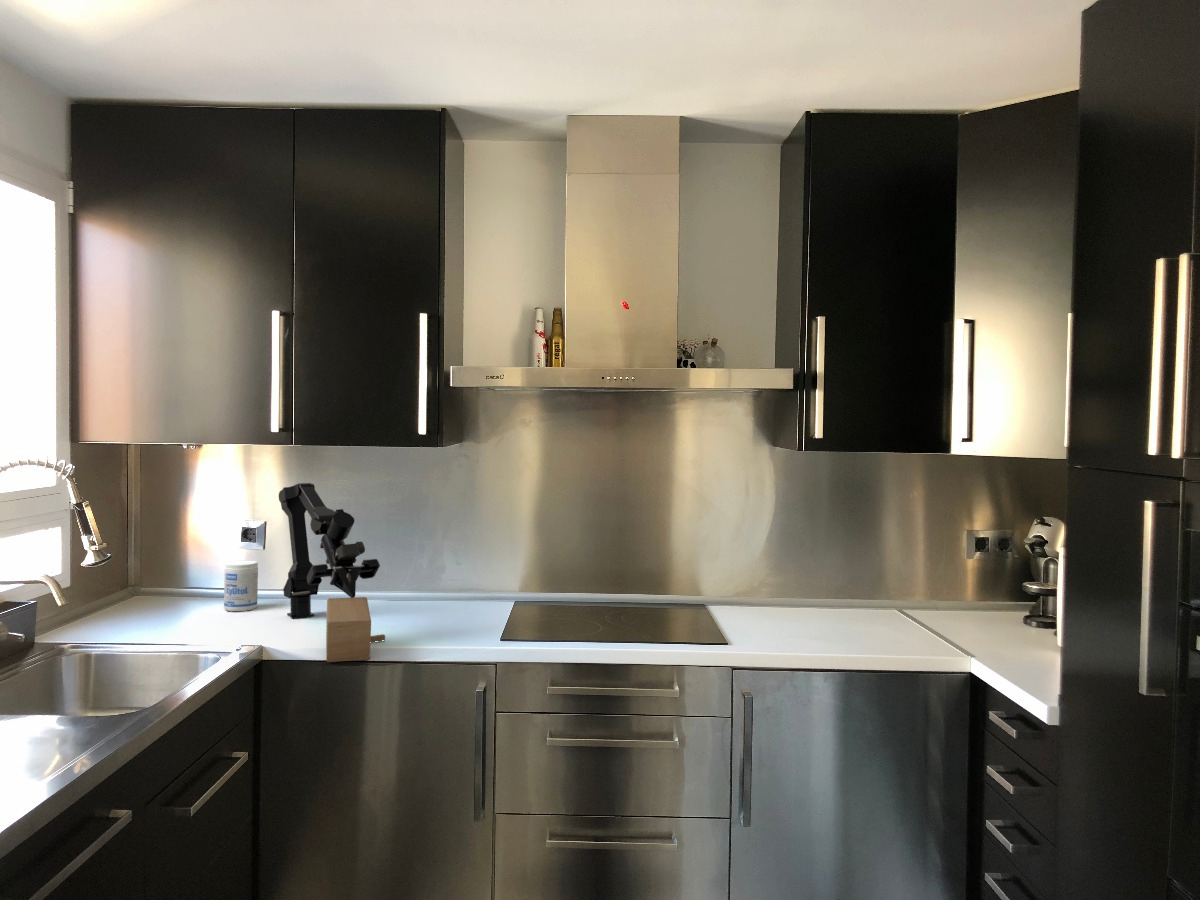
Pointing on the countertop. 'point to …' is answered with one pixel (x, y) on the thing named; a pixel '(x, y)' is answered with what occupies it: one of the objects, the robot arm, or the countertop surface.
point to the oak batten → (377, 638)
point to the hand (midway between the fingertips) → (353, 596)
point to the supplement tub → (241, 585)
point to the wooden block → (348, 629)
